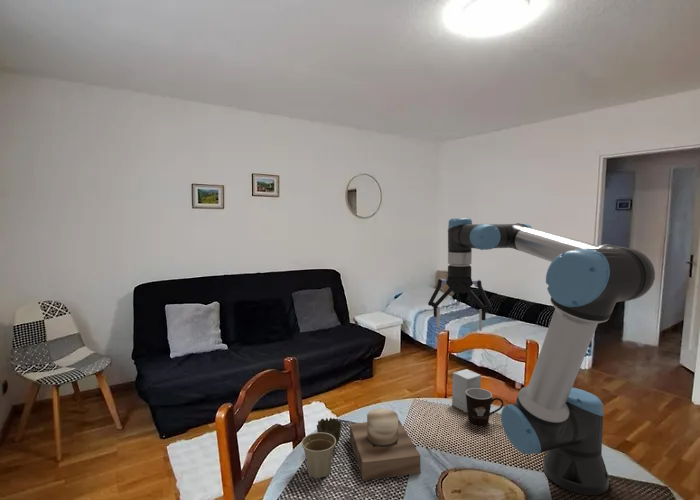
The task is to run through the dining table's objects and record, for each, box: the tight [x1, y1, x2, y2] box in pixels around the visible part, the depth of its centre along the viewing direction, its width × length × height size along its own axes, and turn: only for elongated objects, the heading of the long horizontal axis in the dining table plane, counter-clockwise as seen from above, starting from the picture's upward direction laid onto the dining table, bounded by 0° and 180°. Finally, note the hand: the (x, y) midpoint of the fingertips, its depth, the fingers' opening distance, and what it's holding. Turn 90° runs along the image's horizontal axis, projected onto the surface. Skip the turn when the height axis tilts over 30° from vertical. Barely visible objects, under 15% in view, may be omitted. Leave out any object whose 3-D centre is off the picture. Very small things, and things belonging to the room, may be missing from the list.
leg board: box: [349, 418, 421, 481], centre depth 114 cm, size 20×16×5 cm
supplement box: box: [451, 368, 482, 414], centre depth 143 cm, size 7×7×13 cm
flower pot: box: [301, 432, 337, 479], centre depth 107 cm, size 9×9×9 cm
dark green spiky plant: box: [316, 417, 342, 451], centre depth 117 cm, size 8×7×8 cm
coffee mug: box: [466, 388, 504, 427], centre depth 131 cm, size 12×9×10 cm
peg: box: [366, 408, 399, 447], centre depth 114 cm, size 9×9×11 cm
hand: (458, 328), depth 130 cm, fingers open, 13 cm apart
